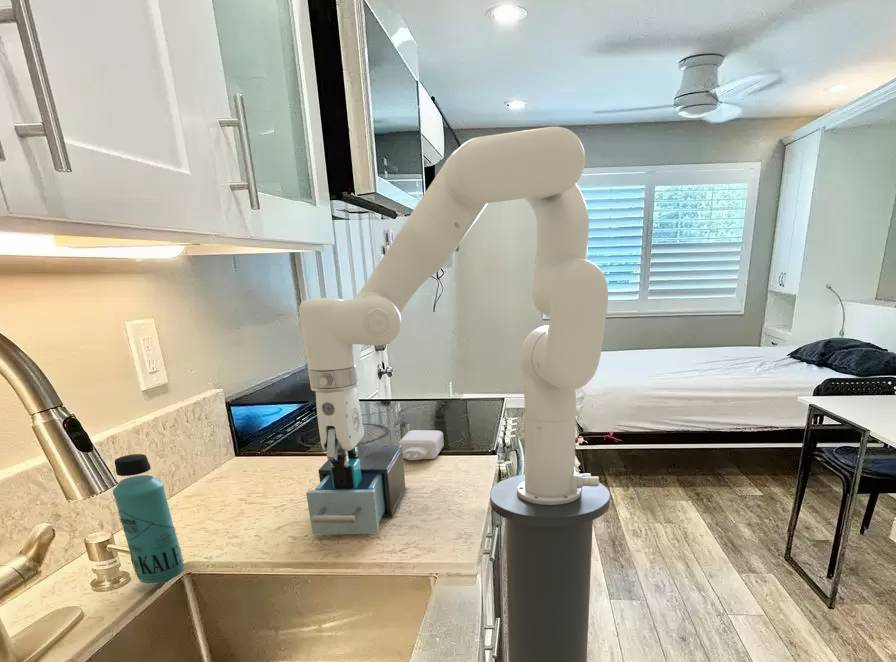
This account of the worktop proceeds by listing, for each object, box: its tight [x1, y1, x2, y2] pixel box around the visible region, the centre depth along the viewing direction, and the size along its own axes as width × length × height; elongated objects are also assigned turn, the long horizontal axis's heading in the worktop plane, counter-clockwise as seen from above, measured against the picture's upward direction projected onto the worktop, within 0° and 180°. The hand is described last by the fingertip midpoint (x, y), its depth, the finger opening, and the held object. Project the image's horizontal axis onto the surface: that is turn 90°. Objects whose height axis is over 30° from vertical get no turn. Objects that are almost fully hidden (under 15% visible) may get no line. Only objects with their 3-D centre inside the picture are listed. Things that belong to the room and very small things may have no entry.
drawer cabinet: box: [317, 444, 407, 519], centre depth 111 cm, size 15×13×10 cm
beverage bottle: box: [112, 453, 185, 584], centre depth 83 cm, size 6×7×20 cm
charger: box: [397, 429, 445, 461], centre depth 138 cm, size 5×9×15 cm
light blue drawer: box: [305, 473, 387, 535], centre depth 101 cm, size 18×11×8 cm, turn 178°
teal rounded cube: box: [330, 459, 362, 488], centre depth 99 cm, size 4×4×4 cm
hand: (347, 482), depth 99 cm, fingers closed on teal rounded cube, 3 cm apart
